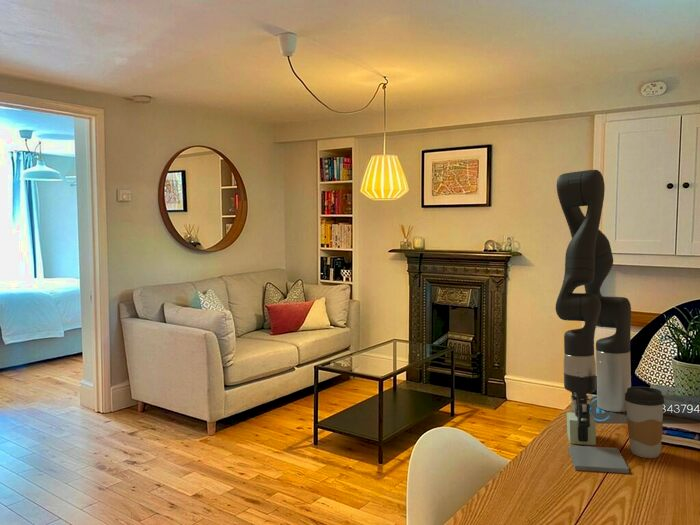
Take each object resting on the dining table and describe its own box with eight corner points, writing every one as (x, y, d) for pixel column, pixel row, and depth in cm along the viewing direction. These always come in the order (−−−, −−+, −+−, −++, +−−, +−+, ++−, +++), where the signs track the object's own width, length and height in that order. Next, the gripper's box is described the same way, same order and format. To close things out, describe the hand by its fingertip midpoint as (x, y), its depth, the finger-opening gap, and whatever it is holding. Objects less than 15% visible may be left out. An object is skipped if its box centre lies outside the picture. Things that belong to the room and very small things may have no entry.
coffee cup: (655, 446, 134) (654, 385, 134) (672, 460, 126) (671, 395, 125) (620, 446, 135) (618, 386, 134) (634, 460, 127) (632, 396, 126)
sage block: (567, 435, 144) (566, 412, 144) (591, 436, 143) (591, 413, 142) (570, 443, 138) (569, 420, 138) (595, 444, 137) (595, 421, 136)
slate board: (568, 449, 135) (568, 445, 135) (617, 452, 132) (617, 447, 132) (575, 470, 123) (575, 465, 123) (629, 473, 120) (628, 468, 120)
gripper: (560, 364, 148) (562, 426, 148) (567, 378, 134) (569, 446, 134) (590, 364, 146) (592, 427, 146) (600, 379, 132) (602, 447, 132)
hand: (581, 436), depth 140 cm, fingers closed on sage block, 6 cm apart
